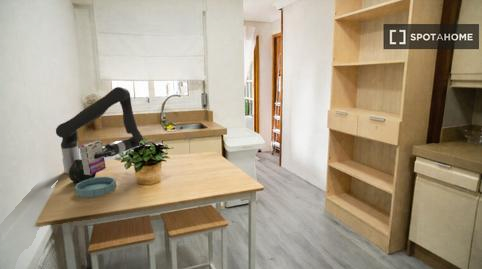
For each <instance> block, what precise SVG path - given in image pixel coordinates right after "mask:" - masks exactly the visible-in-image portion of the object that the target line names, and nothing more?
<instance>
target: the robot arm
mask: <svg viewBox="0 0 482 269" xmlns="http://www.w3.org/2000/svg"><path fill="white" fill-rule="evenodd" d="M118 103H119V104H120V106H121V110H122V119H123V121H122V122H123V125H124V128H125V131H126V133H127V134H131V135H132V136H131V137H128V138H125V139H121V140H117V141H113V142H110V143H107V144H105V146H104V147H102V148H103V151H102V152H101V154H100V153H99V154H96V155H94V159H98V158H100V157H104V158H108V157H111V158H112V157H113V156H114V157H115V156H117V155H119V154H122V153H123V152H124V153H125V152H126V151H129V150H131V149H135V148H138V147H141V146H140V145H139V142H140V141H141V140H143V141H144V137H143V135H142V133H141V132H140V131H139V129H138V126H137V123H136V122H137V121H136V119H135V116H134V111H133V106H132V100H131V94H130V91H129V90H128V89H127V88H125V87H123V86H122V87H121V86H117V87H114V88H112V89H111V90H110V91H109V92H108V93H107V94H105V95H104V96H103V97H101V98H99V99H98V100H96V101H95V102H93V103H92V104H90V105H88V106H87V107H85V108H84V109H82V110H81V111H79V112H78V113H77V114H76V115H75V116H73V117H72V118H70V119H68V120H67V121H64V122H63V123H60V124H58V126H56V128H55V133H56V136H57V137H59V138H62V140H61V143H60V147H61V152H62V153H61V155H62V163H63V169H64V173H65V174H66V175H69V169H70V167H71V166H72V164H73V163H74V161H75V160H77V159H80V151H79V148H78V142H79V139H78V131H77V130H78V129H80V128H82V127H85V126H86V125H88V124H90V123H92V122H95V121H96V120H97V119H99V118H100V117H102V116H103V115H104V114H105V113H106V111H108V109H109V108H111V107H112V106H114V105H115V104H118Z"/></svg>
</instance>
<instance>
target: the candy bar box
mask: <svg viewBox="0 0 482 269" xmlns="http://www.w3.org/2000/svg"><path fill="white" fill-rule="evenodd" d="M103 148H104V147H103V143H102V140H93V141H90V142H87V143H84V144H80V145H79V148H78V149H79V154H80V159H81V160H82V164H83V170H84V175H93V174H95V173H96V174H97V173H99V172H101V171H103V170H106V168H107V167H106V163H105V162H106V161H105V157H100V158H98V159H94V155H96V154H99V153H100V154H101V152H102V151H103Z"/></svg>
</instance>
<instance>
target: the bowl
mask: <svg viewBox="0 0 482 269" xmlns="http://www.w3.org/2000/svg"><path fill="white" fill-rule="evenodd" d="M115 189H117V181H116V179H115V178H114V177H112V176H97V177H96V176H95V177H94V178H91V179H87V180H84V181H82V182H79V183H76V185H74V190H75V194H77V195H76V197H78V198H82V199H84V198H85V199H87V198H88V199H89V198H98V197H101V196H105V195H108V194H110V193H111V192H114V191H115Z"/></svg>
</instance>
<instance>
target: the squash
mask: <svg viewBox="0 0 482 269" xmlns="http://www.w3.org/2000/svg"><path fill="white" fill-rule="evenodd" d="M96 175H97V173H95V174H93V175H84V170H83V164H82V159H81V158H79V159H77V160H75V161H74V163H73V164H72V166H71V167H70V169H69V174H68V177H69V180H71V182H73V183H75V184H78V183H79V182H82V181H84V180H87V179H91V178H95V177H96Z"/></svg>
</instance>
